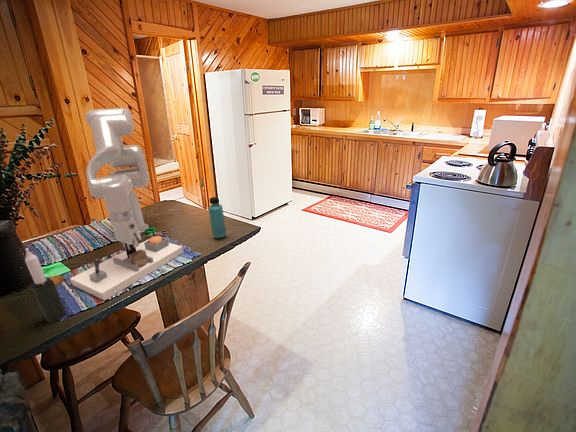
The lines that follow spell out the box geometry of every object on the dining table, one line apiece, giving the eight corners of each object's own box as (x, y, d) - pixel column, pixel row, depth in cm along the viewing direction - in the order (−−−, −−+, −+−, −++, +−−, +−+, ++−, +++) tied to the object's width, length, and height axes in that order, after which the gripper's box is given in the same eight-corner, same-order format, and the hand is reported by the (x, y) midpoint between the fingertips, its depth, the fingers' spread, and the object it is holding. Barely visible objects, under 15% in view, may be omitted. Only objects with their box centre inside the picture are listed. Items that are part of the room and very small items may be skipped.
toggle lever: (92, 272, 111) (92, 259, 107) (98, 270, 113) (97, 256, 109) (96, 276, 111) (96, 262, 107) (101, 273, 113) (101, 259, 109)
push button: (148, 247, 133) (146, 239, 131) (158, 242, 137) (156, 234, 135) (156, 250, 130) (154, 242, 129) (165, 245, 134) (164, 237, 133)
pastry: (58, 277, 120) (55, 269, 119) (68, 281, 118) (65, 273, 116) (31, 291, 113) (27, 282, 111) (41, 296, 110) (37, 287, 108)
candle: (61, 308, 102) (33, 242, 93) (67, 314, 100) (40, 246, 90) (43, 317, 99) (12, 249, 89) (49, 323, 96) (18, 254, 86)
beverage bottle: (223, 241, 142) (218, 200, 135) (210, 240, 144) (204, 200, 136) (229, 234, 148) (223, 195, 140) (216, 234, 150) (210, 195, 142)
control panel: (72, 285, 115) (67, 271, 112) (153, 243, 143) (150, 231, 141) (104, 300, 105) (99, 286, 103) (183, 252, 134) (181, 240, 132)
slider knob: (132, 266, 119) (128, 255, 117) (143, 260, 123) (140, 249, 121) (137, 268, 118) (133, 256, 116) (148, 261, 122) (145, 250, 120)
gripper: (142, 214, 113) (153, 257, 120) (118, 207, 120) (129, 248, 127) (124, 222, 107) (136, 266, 115) (99, 214, 114) (112, 256, 122)
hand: (132, 256), depth 121 cm, fingers closed
